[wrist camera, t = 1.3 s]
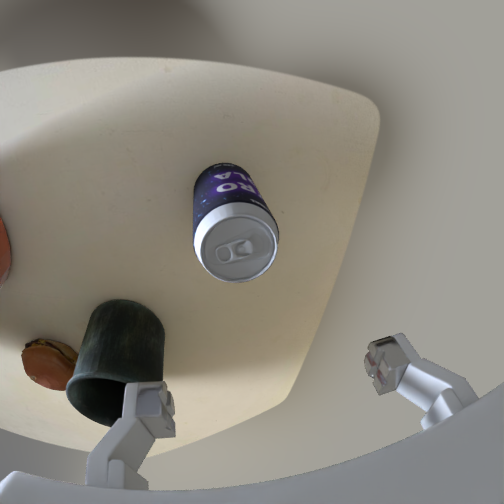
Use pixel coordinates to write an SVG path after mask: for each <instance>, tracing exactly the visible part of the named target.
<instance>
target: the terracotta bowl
mask: <svg viewBox="0 0 504 504" xmlns="http://www.w3.org/2000/svg"><path fill="white" fill-rule="evenodd" d="M10 266H11V253H10V245H9V241H8V237H7V233H6V229H5V227H4V225H3V223H2V221H1V218H0V288H1V286H2V285H3V283H4V282H5V281H6V279H7V278H8V274H9V270H10Z"/></svg>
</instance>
